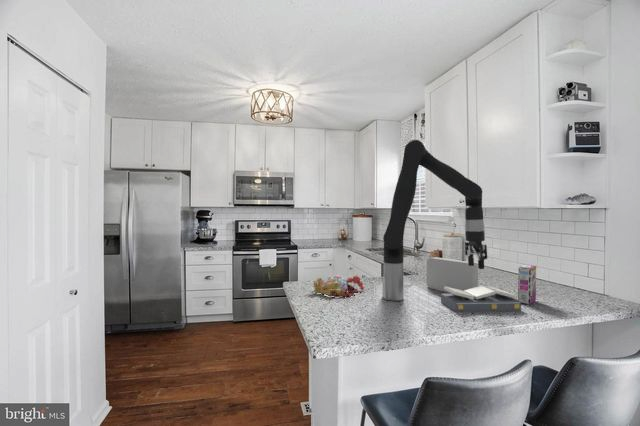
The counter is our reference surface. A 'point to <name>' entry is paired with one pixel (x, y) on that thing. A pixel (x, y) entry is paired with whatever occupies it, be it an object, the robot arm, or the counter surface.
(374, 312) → the counter surface
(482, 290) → the rocker
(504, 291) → the rocker
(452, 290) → the rocker
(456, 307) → the tray
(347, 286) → the colourful mixed pile
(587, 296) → the counter surface
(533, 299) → the candy bar box
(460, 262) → the upright grey rectangular panel
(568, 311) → the counter surface
